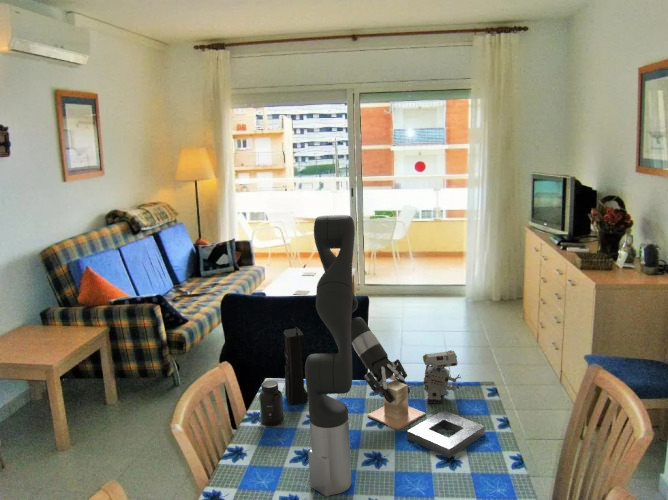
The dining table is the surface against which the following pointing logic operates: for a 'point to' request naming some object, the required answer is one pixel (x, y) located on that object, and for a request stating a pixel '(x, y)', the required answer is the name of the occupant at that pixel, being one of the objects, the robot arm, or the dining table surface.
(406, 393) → the beech peg
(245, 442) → the dining table surface
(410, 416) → the terracotta tile
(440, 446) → the socket block
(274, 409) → the supplement bottle
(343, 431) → the robot arm
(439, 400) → the figurine
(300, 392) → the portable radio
